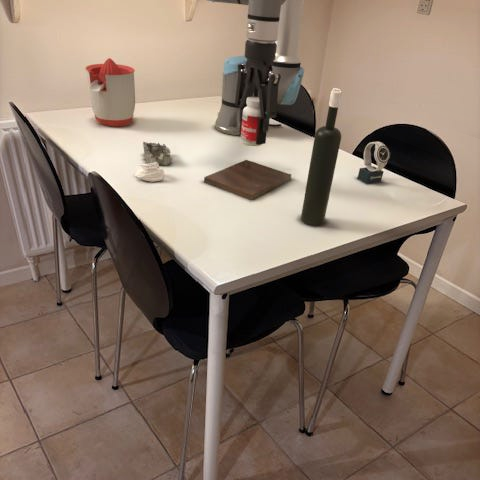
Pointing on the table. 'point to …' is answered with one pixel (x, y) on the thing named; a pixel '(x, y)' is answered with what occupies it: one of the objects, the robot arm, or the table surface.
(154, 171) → the cream folded ring
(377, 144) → the watch
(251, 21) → the robot arm
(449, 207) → the table surface
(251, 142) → the pill bottle
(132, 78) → the citrus juicer
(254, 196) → the walnut board
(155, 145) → the egg carton
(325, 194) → the wine bottle
